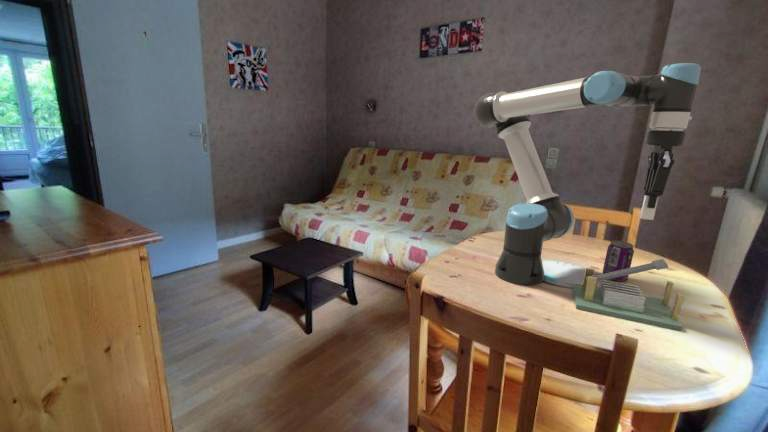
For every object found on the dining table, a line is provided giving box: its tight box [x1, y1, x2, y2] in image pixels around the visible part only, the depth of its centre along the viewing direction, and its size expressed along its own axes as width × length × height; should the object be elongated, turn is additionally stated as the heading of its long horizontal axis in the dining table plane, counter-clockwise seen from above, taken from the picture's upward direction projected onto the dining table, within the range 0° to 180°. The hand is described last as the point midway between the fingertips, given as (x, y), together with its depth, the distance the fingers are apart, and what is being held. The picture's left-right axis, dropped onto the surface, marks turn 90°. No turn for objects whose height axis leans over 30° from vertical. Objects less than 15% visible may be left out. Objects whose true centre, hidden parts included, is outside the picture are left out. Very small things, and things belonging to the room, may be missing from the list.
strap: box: [586, 258, 669, 283], centre depth 94 cm, size 19×4×2 cm, turn 64°
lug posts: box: [582, 267, 684, 320], centre depth 94 cm, size 21×9×7 cm, turn 65°
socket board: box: [572, 282, 683, 332], centre depth 96 cm, size 23×15×1 cm, turn 65°
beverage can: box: [601, 240, 635, 282], centre depth 112 cm, size 7×7×12 cm
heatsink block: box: [598, 280, 645, 313], centre depth 95 cm, size 9×9×4 cm
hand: (646, 218), depth 93 cm, fingers closed
